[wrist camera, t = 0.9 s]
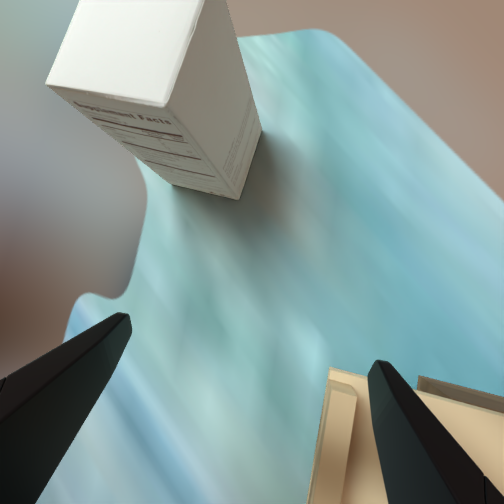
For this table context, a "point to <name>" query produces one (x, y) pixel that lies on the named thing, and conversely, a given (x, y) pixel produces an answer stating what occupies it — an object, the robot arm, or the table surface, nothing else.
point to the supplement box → (164, 87)
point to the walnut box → (461, 394)
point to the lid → (364, 446)
